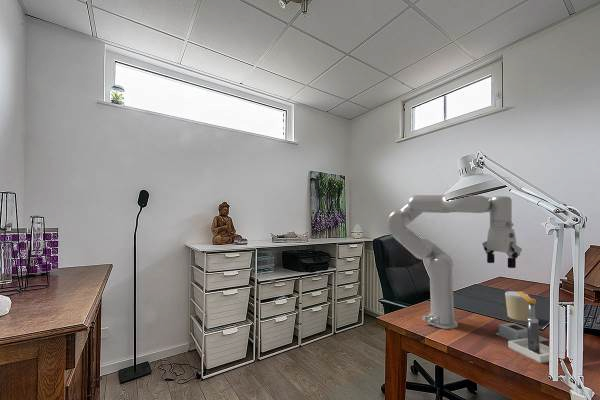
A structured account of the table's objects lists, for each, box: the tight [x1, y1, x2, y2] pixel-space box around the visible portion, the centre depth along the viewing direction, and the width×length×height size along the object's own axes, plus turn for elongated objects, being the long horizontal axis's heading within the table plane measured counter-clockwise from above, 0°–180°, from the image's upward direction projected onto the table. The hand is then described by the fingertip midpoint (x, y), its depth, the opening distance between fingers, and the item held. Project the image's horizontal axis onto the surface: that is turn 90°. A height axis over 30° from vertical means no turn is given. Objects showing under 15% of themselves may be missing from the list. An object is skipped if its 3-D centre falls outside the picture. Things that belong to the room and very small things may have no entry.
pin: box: [526, 316, 540, 354], centre depth 97 cm, size 3×3×12 cm
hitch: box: [494, 303, 550, 343], centre depth 110 cm, size 16×10×14 cm, turn 103°
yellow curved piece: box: [517, 291, 537, 305], centre depth 117 cm, size 14×3×2 cm, turn 158°
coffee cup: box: [504, 290, 529, 323], centre depth 130 cm, size 9×9×12 cm
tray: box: [507, 338, 550, 364], centre depth 97 cm, size 10×11×3 cm
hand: (500, 265), depth 113 cm, fingers open, 9 cm apart
